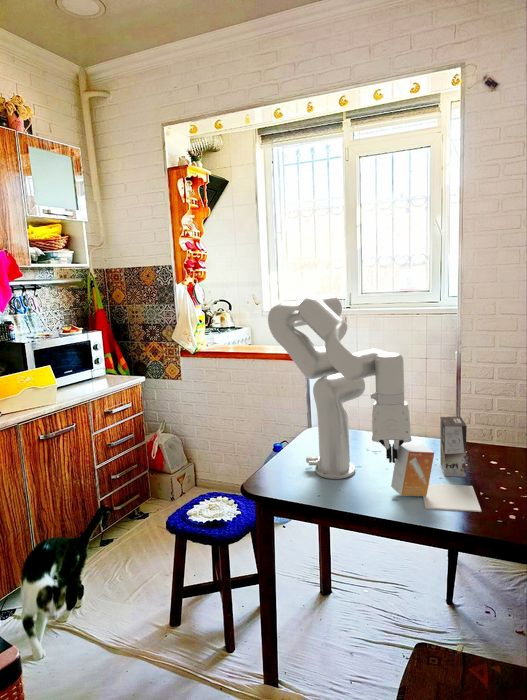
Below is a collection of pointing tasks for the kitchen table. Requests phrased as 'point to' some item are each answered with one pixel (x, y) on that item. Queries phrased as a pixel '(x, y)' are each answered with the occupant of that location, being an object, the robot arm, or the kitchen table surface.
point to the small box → (412, 470)
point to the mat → (451, 498)
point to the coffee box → (453, 446)
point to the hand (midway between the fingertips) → (392, 460)
